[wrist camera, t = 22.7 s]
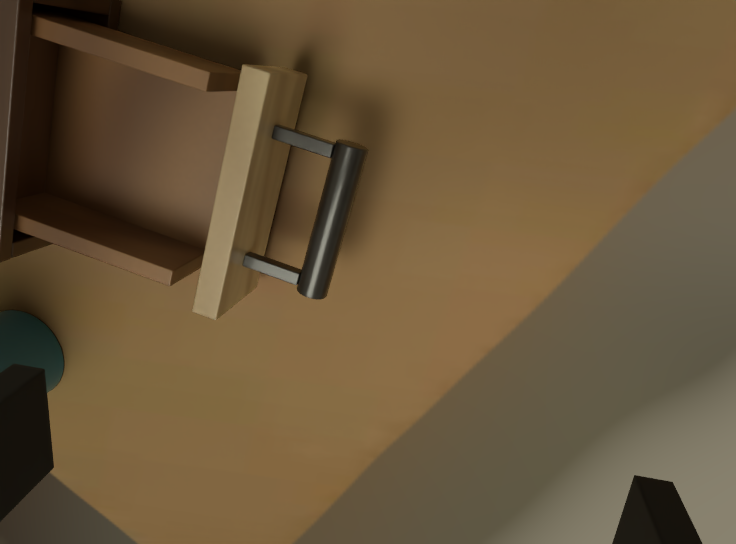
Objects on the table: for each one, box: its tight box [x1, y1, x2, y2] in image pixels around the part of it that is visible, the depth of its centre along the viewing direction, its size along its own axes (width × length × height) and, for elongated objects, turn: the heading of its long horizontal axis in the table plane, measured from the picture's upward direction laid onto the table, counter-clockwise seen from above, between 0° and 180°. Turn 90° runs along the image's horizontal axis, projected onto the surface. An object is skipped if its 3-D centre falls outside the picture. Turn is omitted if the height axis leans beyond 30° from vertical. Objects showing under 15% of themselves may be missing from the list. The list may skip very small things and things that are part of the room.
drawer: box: [14, 8, 368, 320], centre depth 28 cm, size 17×11×5 cm, turn 73°
